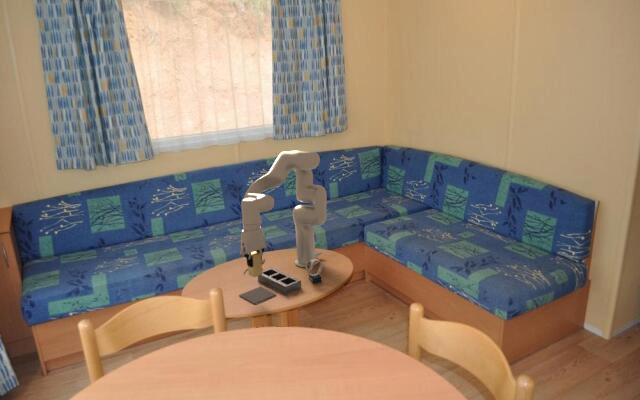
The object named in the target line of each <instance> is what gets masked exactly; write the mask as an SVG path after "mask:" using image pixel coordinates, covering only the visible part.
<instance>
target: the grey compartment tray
mask: <svg viewBox="0 0 640 400" xmlns="http://www.w3.org/2000/svg"><path fill="white" fill-rule="evenodd" d="M257 281H258V282H260V283H261V284H264V285H266V286H267V287H270V288H272V289H274V290H276V291H278V292H280V293H282V294H284V295H289V294H292V293H294V292H296V291H298V290H301V289H302V280H300V279H298V278H297V277H295V276H292V275H290V274H287V273H286V272H283V271H280V270H278V269H276V268H274V267H270V268H268V269H265V270H263V271H262V275H259V276H257Z"/></svg>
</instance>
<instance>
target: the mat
mask: <svg viewBox="0 0 640 400" xmlns="http://www.w3.org/2000/svg"><path fill="white" fill-rule="evenodd" d="M276 296H277V294H276V293H274V292H272V291H270V290H269V289H267V288H265V287H263V286H259V287H255V288H253V289H251V290H247V291H245V292H243V293H240V294H239V297H240V298H242V299H244V300H246V302H249V303H250V304H252V305H257V304H259V303H262V302H264V301H267V300H269V299H272V298H273V297H276Z"/></svg>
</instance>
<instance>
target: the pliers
mask: <svg viewBox="0 0 640 400" xmlns="http://www.w3.org/2000/svg"><path fill="white" fill-rule="evenodd" d="M265 261H266V260H265V258H262V265H263V264H265ZM247 271H248V268H246V269H245V270H244V271H243V275H245V274H246V273H247ZM262 271H264V269H263V268H262Z"/></svg>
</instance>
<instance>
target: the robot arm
mask: <svg viewBox="0 0 640 400" xmlns="http://www.w3.org/2000/svg"><path fill="white" fill-rule="evenodd" d="M320 157H321V156H320V155H319V154H318V152H316V151H312V150H311V151H310V150H297V149H295V150H294V149H293V150H289V151H288V150H287V151H286V150H285V151H281V152H280V153H279V154H278V156H277V157H276V159H275V160H274V162H273V164H272V165H271V167H269V170H268V172H266V174H264V175H263V176H261V177H259V178H258V179H256V180H255V181H254V182H252V183H251V184H250V185H249V188H247V190H246V192H245V194H244V196H243V199H242V200H241V202H240V203H241V217H242V218H241V219H242V230H241V233H240V251H239V255H241V256H243V257H244V258H246V265H247V267H248V266H249V267H253V265H252V259H251V253H252V252H254V251H256V252H259V253H261V261H263V255H264V251H265V249H267V247H268V245H267V243H266V242H265V235H264V231H263V228H262V227H261V226H262V225H261V224H263V221H262V220H261V218H260V217H261V214H260V213H265V212H269V211H271V210H272V209H273V208H274V206H275V198H274V197H273V196H271V195H270V194H267V193H264V192H265V191H267V190H270V189H273V188H276V187H279V186H282V185H283V184H284V182H285V181H286V179H287V178H288V175H289V174H290V172H291V171H294V172H295V173H294V174H295V198H296V200H297V201H298V202H301V203H304V204H298V205H296V206H295V207H294V208H293V209H292V218H293V222H294V228H295V242H296V243H295V245H296V259H295V260H294V265H295V266H297V267H300V268H306V265H307V263H308V261H310V260H312V259H318V257H320V256H322V254H323V252H322V251H316V248H315V247H316V245H315V243H316V242H315V229H314V227H313V226H318V227H319V226H322V225H324V224H325V222H326V219H327V204H328V203H327V200H328V199H327V190H326V188H325V187H324V186H322V185H320V184H314V175H313V171H312V170H315V169H316V168H317V167H319V165H320V162H321V159H320ZM263 193H264V194H263ZM305 203H307V204H305ZM309 204H313V205H309ZM248 253H249V254H248ZM318 264H319V261H315V262H314V264H313V267H314V266H317V265H318Z"/></svg>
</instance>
